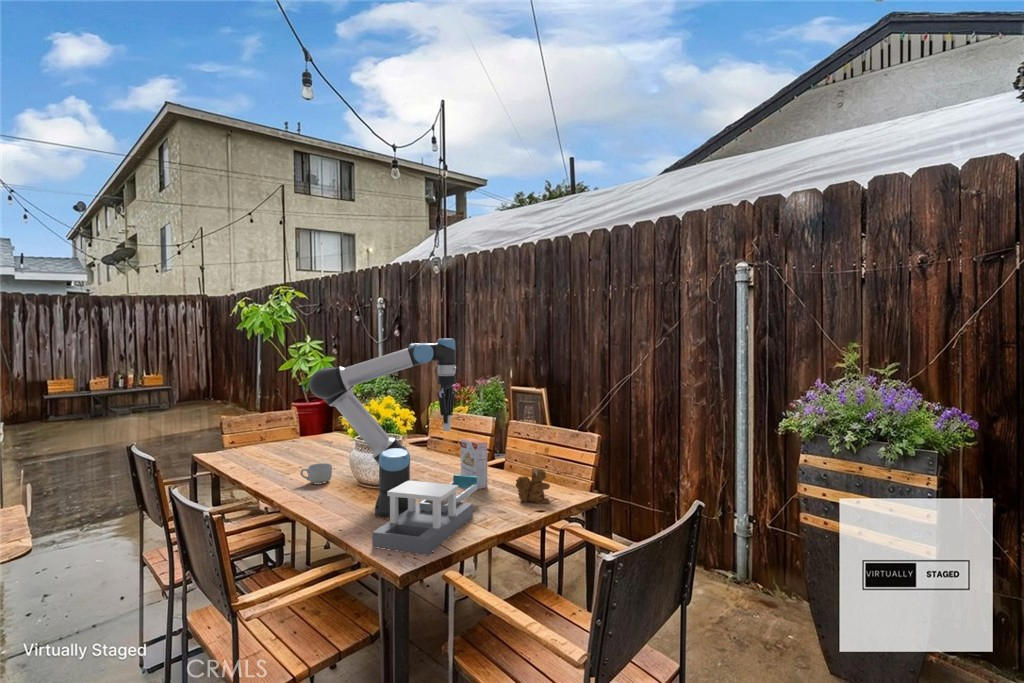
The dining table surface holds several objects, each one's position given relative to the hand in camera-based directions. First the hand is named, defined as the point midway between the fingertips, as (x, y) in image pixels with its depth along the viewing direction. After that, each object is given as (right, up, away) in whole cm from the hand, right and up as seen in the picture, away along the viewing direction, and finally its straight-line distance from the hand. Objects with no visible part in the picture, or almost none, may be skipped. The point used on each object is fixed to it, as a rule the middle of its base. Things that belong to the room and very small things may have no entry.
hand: (446, 430), depth 214 cm
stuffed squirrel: (+36, -29, -4) cm, 46 cm away
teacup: (-64, -29, +23) cm, 74 cm away
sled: (+4, -23, -18) cm, 29 cm away
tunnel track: (-2, -28, -37) cm, 47 cm away
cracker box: (+10, -29, +18) cm, 35 cm away
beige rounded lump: (+1, -24, -26) cm, 35 cm away
